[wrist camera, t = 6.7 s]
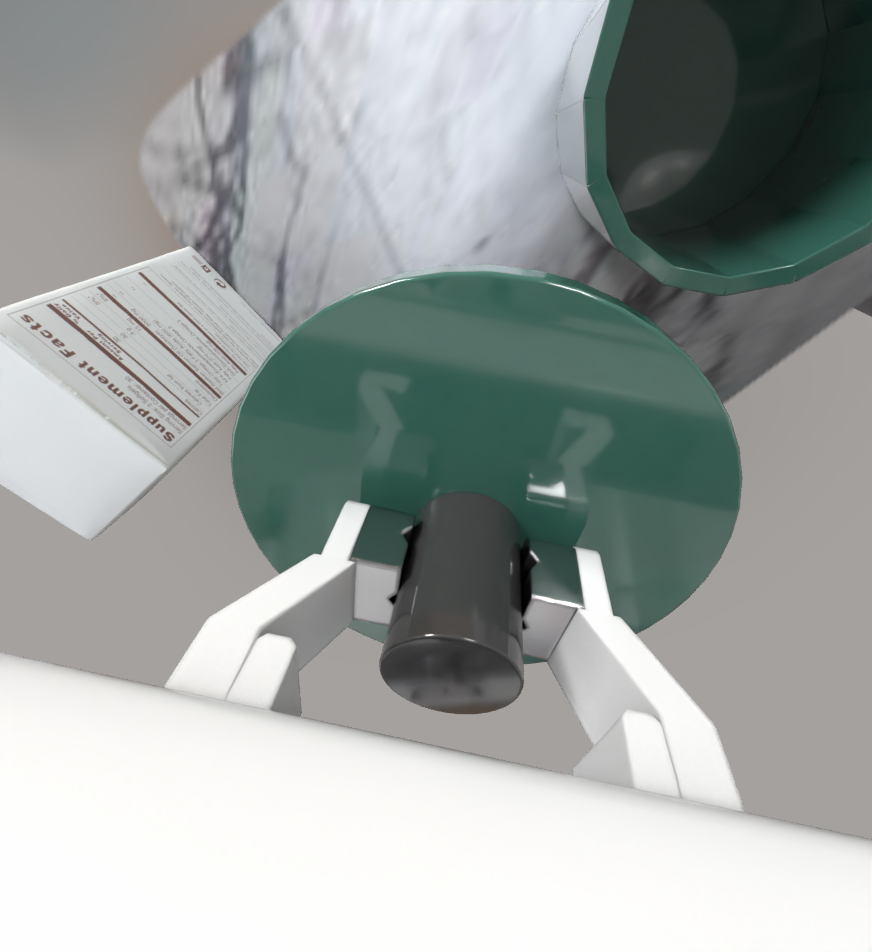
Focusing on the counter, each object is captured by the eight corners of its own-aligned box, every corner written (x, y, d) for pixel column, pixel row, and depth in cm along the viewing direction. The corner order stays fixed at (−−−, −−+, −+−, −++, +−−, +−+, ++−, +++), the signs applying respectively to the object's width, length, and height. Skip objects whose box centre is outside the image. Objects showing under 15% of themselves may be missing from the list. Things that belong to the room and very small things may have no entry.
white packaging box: (227, 411, 30) (88, 547, 20) (128, 322, 27) (-95, 429, 17) (296, 349, 27) (171, 474, 17) (192, 239, 24) (-38, 311, 14)
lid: (850, 322, 8) (1176, 497, 4) (604, 659, 14) (637, 841, 11) (223, 200, 8) (-42, 255, 4) (272, 590, 14) (189, 745, 11)
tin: (909, -61, 15) (1242, -226, 8) (738, 263, 21) (846, 321, 14) (611, -117, 15) (698, -328, 8) (528, 222, 21) (538, 261, 14)
